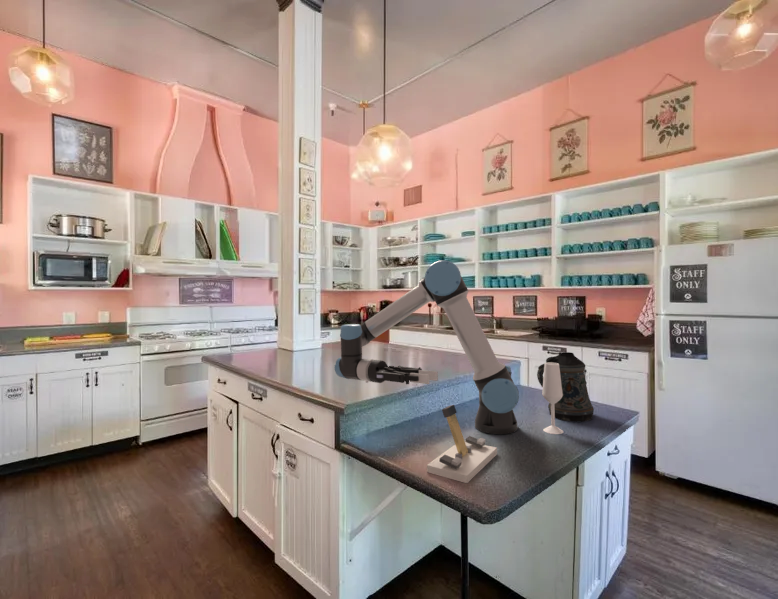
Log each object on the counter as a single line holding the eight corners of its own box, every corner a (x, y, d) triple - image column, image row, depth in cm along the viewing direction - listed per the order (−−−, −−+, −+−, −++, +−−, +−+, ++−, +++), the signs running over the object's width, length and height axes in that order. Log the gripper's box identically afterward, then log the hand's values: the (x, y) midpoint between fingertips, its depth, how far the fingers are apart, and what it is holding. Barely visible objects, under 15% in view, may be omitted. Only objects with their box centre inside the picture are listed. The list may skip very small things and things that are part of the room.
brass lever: (464, 453, 115) (448, 406, 118) (470, 452, 114) (454, 404, 117) (458, 458, 112) (441, 409, 115) (463, 457, 111) (447, 408, 114)
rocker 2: (469, 438, 123) (470, 433, 123) (484, 445, 120) (485, 439, 120) (465, 441, 120) (466, 436, 120) (480, 448, 117) (481, 442, 117)
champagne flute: (551, 435, 133) (549, 365, 133) (539, 428, 140) (537, 362, 140) (567, 432, 135) (566, 364, 135) (554, 426, 142) (553, 361, 141)
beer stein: (603, 419, 148) (602, 354, 148) (560, 425, 143) (558, 357, 143) (573, 407, 164) (572, 349, 164) (533, 412, 159) (532, 351, 159)
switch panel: (461, 446, 126) (460, 435, 126) (497, 454, 119) (496, 442, 119) (427, 472, 108) (426, 459, 108) (467, 483, 101) (466, 469, 101)
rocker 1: (444, 457, 109) (445, 451, 109) (461, 465, 106) (462, 459, 106) (439, 461, 107) (440, 455, 106) (456, 469, 104) (457, 463, 103)
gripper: (388, 377, 139) (446, 384, 126) (356, 387, 125) (418, 396, 112) (388, 356, 139) (445, 361, 126) (356, 363, 125) (417, 370, 112)
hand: (432, 377), depth 119 cm, fingers open, 4 cm apart
